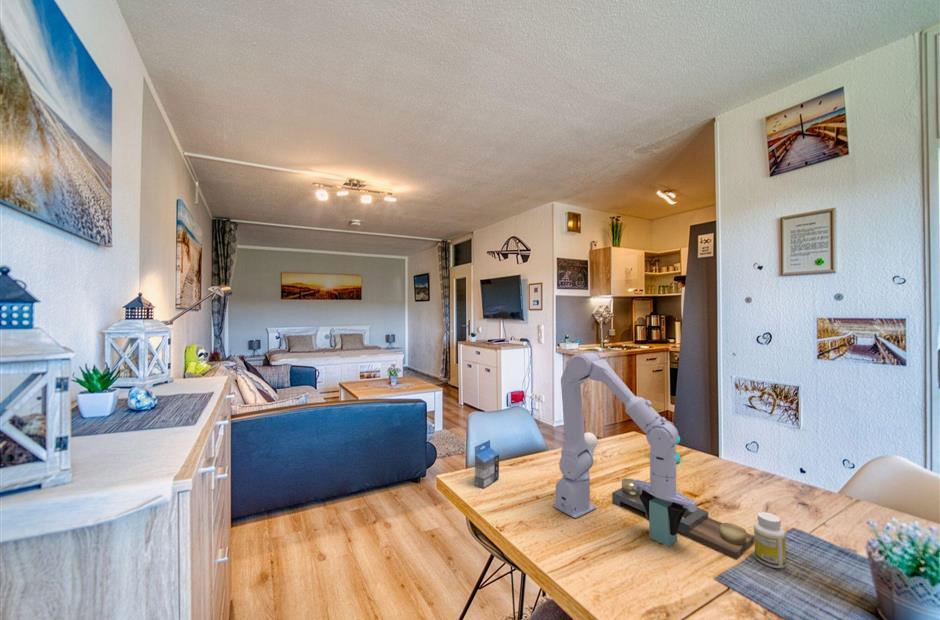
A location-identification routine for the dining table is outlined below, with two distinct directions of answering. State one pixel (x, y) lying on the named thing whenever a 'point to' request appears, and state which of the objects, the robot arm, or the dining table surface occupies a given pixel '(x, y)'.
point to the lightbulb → (591, 441)
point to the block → (660, 522)
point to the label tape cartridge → (486, 465)
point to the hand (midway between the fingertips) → (663, 528)
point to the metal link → (632, 498)
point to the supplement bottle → (769, 541)
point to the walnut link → (720, 536)
